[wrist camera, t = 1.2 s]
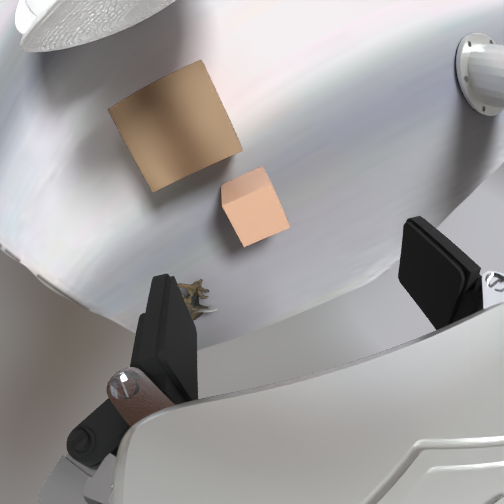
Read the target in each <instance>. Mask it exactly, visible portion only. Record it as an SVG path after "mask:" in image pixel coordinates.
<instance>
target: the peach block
mask: <svg viewBox="0 0 504 504" xmlns="http://www.w3.org/2000/svg"><path fill="white" fill-rule="evenodd" d="M221 196H222V207H223V209H224V211H225V213H226V214H227V216H228V218H229V220H230V222H231V224H232V226H233V227H234V229H235V231H236V233H237V235H238V237H239V239H240V241H241V242H242V244H243V246H244V247H246V246H248V245H250V244H253V243H255V242H257V241H260V240H262V239H264V238H267V237H269V236H271V235H274V234H276V233H278V232H281V231H283V230H285V229H288V228H290V225H289V223H288V221H287V218H286V216H285V214H284V211H283V209H282V207H281V204H280V202H279V200H278V197H277V195H276V193H275V190H274V188H273V186H272V183H271V182H270V180H269V178H268V176H267V174H266V172H265V170H264V168H263V166H262V167H260V168H257V169H255V170H253V171H250V172H248V173H246V174H244V175H241V176H239V177H237V178H235V179H233V180H230V181H228V182H226V183H224V184H222V185H221Z"/></svg>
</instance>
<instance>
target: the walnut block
mask: <svg viewBox="0 0 504 504" xmlns="http://www.w3.org/2000/svg"><path fill="white" fill-rule="evenodd" d="M108 111H109V113H110V115H111V117H112V119H113V121H114V123H115V125H116V126H117V128H118V130H119V132H120V134H121V136H122V138H123V140H124V142H125V143H126V145H127V147H128V149H129V151H130V153H131V154H132V156H133V158H134V160H135V162H136V164H137V165H138V167H139V169H140V171H141V173H142V174H143V176H144V178H145V180H146V181H147V183H148V185H149V187H150V188H151V190H152V192H153V193H154V192H156V191H157V190H159V189H161V188H163V187H165V186H167V185H169V184H171V183H173V182H176V181H178V180H180V179H182V178H184V177H186V176H188V175H190V174H192V173H194V172H196V171H199V170H201V169H203V168H205V167H207V166H209V165H212V164H214V163H216V162H218V161H221V160H223V159H225V158H227V157H230V156H232V155H234V154H237V153H239V152H241V151H243V150H242V147H241V144H240V142H239V139H238V137H237V135H236V132H235V130H234V128H233V126H232V124H231V121H230V119H229V117H228V115H227V113H226V110H225V108H224V106H223V104H222V102H221V100H220V97H219V95H218V93H217V91H216V89H215V87H214V85H213V82H212V80H211V78H210V76H209V74H208V72H207V70H206V68H205V65H204V64H203V62H202V61H201V60H199V61H197V62H194V63H192V64H190V65H188V66H186V67H183V68H181V69H179V70H177V71H175V72H173V73H171V74H169V75H167V76H165V77H163V78H161V79H159V80H157V81H155V82H154V83H152V84H150V85H148V86H146V87H144V88H143V89H141V90H139V91H137V92H135V93H134V94H132V95H130V96H129V97H127V98H125V99H123V100H122V101H120V102H119V103H117V104H115V105H114V106H112V107H111V108H109V109H108Z"/></svg>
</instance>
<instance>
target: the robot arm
mask: <svg viewBox="0 0 504 504" xmlns="http://www.w3.org/2000/svg"><path fill="white" fill-rule="evenodd" d="M456 69H457V76H458V81H459V84H460V87H461V90H462V92H463V94H464V97H465V98H466V100H467V102H468V103H469V104H470V105H471V107H472V108H473V109H475V110H476V111H477V112H479V113H481V114H484V115H487V116H494V115H497V114H498V113H500V112H501V111H502V110H504V45H497V43H496V42H495V41H494V40H493V39H491V38H490V37H489V36H487V35H485V34H482V33H471V34H468V35H466V36H465V37H464V38H463V39H462V41H461V42H460V44H459V47H458V50H457V56H456ZM480 269H481V268H480V267H479V266H478V265H477V264H476V263H475V262H474V261H473V260H472V259H470V258H469V257H468V256H467V255H466V254H465V253H464V252H462V251H461V250H460V249H459V248H458V247H457V246H456V245H455V244H453V243H452V242H451V241H450V240H449V239H448V238H447V237H445V236H444V235H443V234H442V233H441V232H440V231H438V230H437V229H436V228H435V227H433V226H432V225H431V224H430V223H429V222H427V221H426V220H425V219H424V218H422V217H421V216H417V217H413V218H409V219H407V221H406V223H405V224H404V227H403V239H402V248H401V257H400V266H399V273H398V278H399V281H400V283H401V284H402V285H403V287H404V288H405V289H406V290H407V292H408V293H409V294H410V296H411V297H412V298H413V299H414V301H415V302H416V303H417V305H418V306H419V307H420V309H421V310H422V311H423V313H424V314H425V315H426V317H427V318H428V319H429V320H430V322H431V323H432V325H433V326H434V327H435V329H436V331H434V332H431V333H429V334H427V335H424V336H422V337H419V338H417V339H414V340H412V341H409V342H407V343H404V344H401V345H399V346H396V347H393V348H391V349H388V350H385V351H382V352H380V353H377V354H374V355H371V356H368V357H365V358H362V359H359V360H356V361H353V362H350V363H347V364H344V365H340V366H337V367H334V368H330V369H327V370H324V371H320V372H316V373H313V374H310V375H306V376H302V377H298V378H295V379H290V380H286V381H282V382H279V383H274V384H270V385H265V386H260V387H256V388H252V389H247V390H242V391H237V392H232V393H228V394H222V395H217V396H212V397H207V398H203V399H198V382H197V332H196V327H195V325H194V322H193V320H192V318H191V315H190V313H189V311H188V308H187V306H186V304H185V301H184V299H183V297H182V294H181V292H180V289H179V287H178V284H177V282H176V279H175V277H174V276H172V277H170V276H169V275H168V274H163V275H159V276H154V277H153V279H152V284H151V288H150V293H149V298H148V303H147V308H146V313H143V314H141V315H140V317H139V321H138V326H137V331H136V336H135V342H134V347H133V353H132V358H131V364H130V367H126V368H123V369H121V370H119V371H117V372H116V373H115V374H114V375H113V376H112V377H111V378H110V380H109V381H108V383H107V387H106V392H107V395H108V399H107V400H106V401H105V402H104V403H103V404H101V405H100V406H99V407H98V408H97V409H96V410H95V411H94V412H93V413H91V414H90V415H89V416H88V417H87V418H86V419H85V420H83V421H82V422H81V423H80V424H79V425H78V426H77V427H76V428H75V429H73V430H72V432H71V433H70V434H69V437H68V439H67V451H68V454H67V455H66V457H65V456H61V458H60V460H59V461H58V463H57V464H56V466H55V467H54V469H53V471H52V472H51V474H50V475H49V477H48V479H47V480H46V482H45V483H44V485H43V487H42V488H41V490H40V493H39V503H40V504H108V499H109V496H110V494H111V492H112V504H504V274H503V273H500V272H498V271H493V270H492V271H487V272H485V273H484V274H483V275H482V276H481V275H480V274H479V273H480ZM112 484H113V488H112V487H111V486H112ZM112 490H113V491H112Z"/></svg>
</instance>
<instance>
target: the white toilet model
mask: <svg viewBox="0 0 504 504" xmlns="http://www.w3.org/2000/svg"><path fill="white" fill-rule="evenodd" d="M174 1H176V0H20V1H19V4H18V6H17V10H16V15H15V25H16V28H17V30H18V31H19V32H20V33H21V34H22V35H23V37H22V39H21V42H20V48H21V49H22V50H25V51H27V52H47V51H55V50H61V49H66V48H71V47H75V46H79V45H82V44H86V43H89V42H92V41H95V40H98V39H101V38H104V37H107V36H110V35H112V34H115V33H117V32H120V31H122V30H124V29H127V28H129V27H131V26H133V25H135V24H137V23H139V22H141V21H143V20H145V19H147V18H149V17H150V16H152V15H154V14H156V13H157V12H159V11H161V10H162V9H164V8H165V7H167V6H168V5H170V4H171V3H173V2H174ZM28 7H29V8H28ZM26 10H27V11H26ZM31 11H32V12H31ZM29 12H30V13H31V16H30V15H29ZM25 13H26V14H25ZM34 13H35V16H34ZM27 15H28V16H27ZM36 15H37V16H36ZM32 16H33V18H32ZM28 17H29V18H28ZM30 17H31V18H32V19H33V20H32V19H31V18H30ZM27 18H28V19H29V21H28V19H27ZM26 20H27V22H26ZM30 22H31V23H30ZM29 24H30V25H29Z"/></svg>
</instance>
